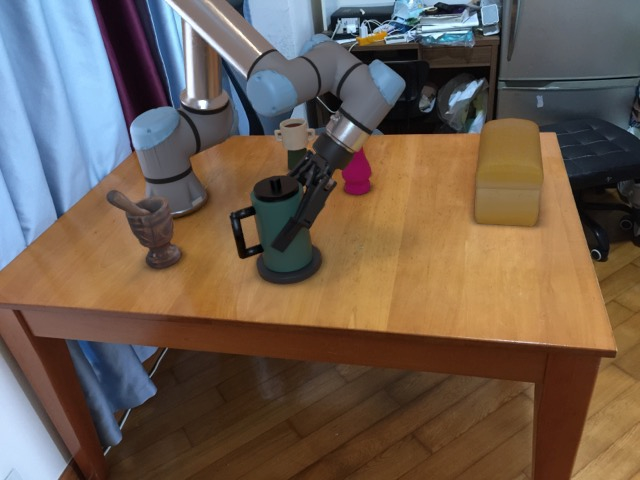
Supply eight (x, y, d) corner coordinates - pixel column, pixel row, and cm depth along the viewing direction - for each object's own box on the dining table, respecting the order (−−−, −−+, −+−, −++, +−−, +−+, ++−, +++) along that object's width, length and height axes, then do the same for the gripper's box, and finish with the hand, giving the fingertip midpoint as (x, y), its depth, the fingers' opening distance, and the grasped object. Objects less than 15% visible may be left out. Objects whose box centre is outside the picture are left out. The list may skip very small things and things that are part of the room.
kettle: (319, 231, 116) (309, 155, 106) (340, 254, 108) (332, 173, 99) (234, 261, 110) (216, 182, 101) (251, 287, 102) (232, 204, 93)
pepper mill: (376, 183, 135) (372, 105, 124) (366, 197, 130) (360, 117, 119) (349, 180, 138) (343, 104, 127) (338, 194, 133) (330, 115, 122)
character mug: (321, 162, 149) (316, 116, 142) (316, 174, 143) (311, 127, 136) (283, 163, 151) (276, 118, 144) (277, 174, 146) (269, 128, 139)
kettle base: (271, 244, 117) (269, 238, 117) (328, 248, 114) (328, 242, 113) (247, 281, 107) (246, 275, 106) (310, 287, 103) (309, 281, 102)
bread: (478, 171, 135) (481, 113, 126) (534, 173, 131) (541, 113, 123) (472, 223, 115) (475, 158, 107) (537, 227, 112) (546, 160, 103)
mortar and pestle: (169, 280, 110) (140, 193, 99) (130, 280, 112) (97, 194, 101) (189, 248, 120) (165, 165, 109) (152, 248, 121) (125, 167, 111)
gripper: (309, 112, 107) (247, 200, 113) (342, 154, 88) (265, 257, 94) (338, 131, 111) (276, 216, 117) (375, 176, 92) (299, 274, 98)
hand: (271, 234), depth 106 cm, fingers closed on kettle, 10 cm apart
